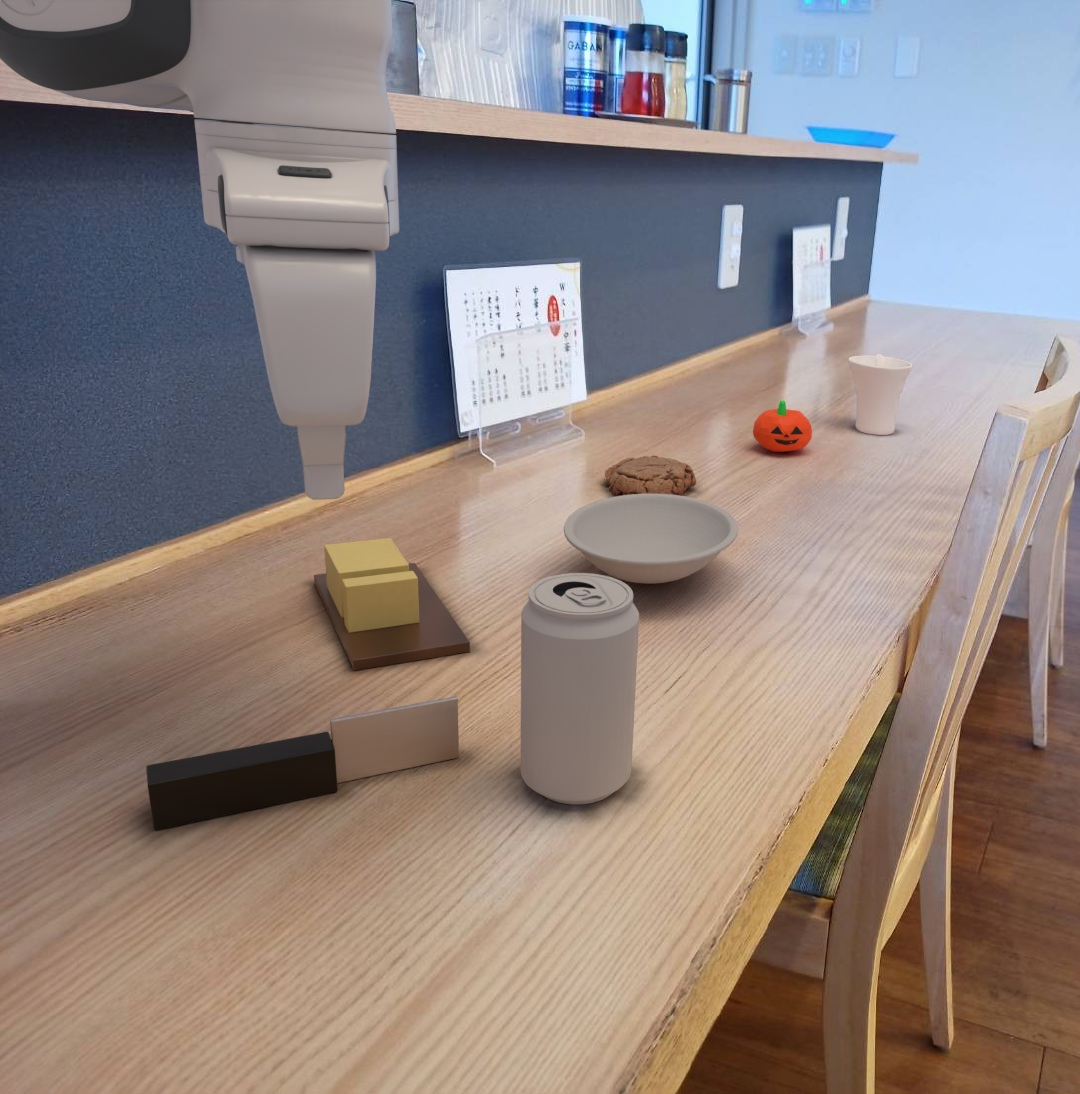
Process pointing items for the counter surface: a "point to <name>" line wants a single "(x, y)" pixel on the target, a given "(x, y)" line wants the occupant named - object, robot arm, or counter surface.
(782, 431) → the pumpkin
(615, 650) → the beverage can
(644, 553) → the dish
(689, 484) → the cookie
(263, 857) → the counter surface
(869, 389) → the cup
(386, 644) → the butter board
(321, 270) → the robot arm
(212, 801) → the knife
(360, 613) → the butter slice
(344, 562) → the butter
